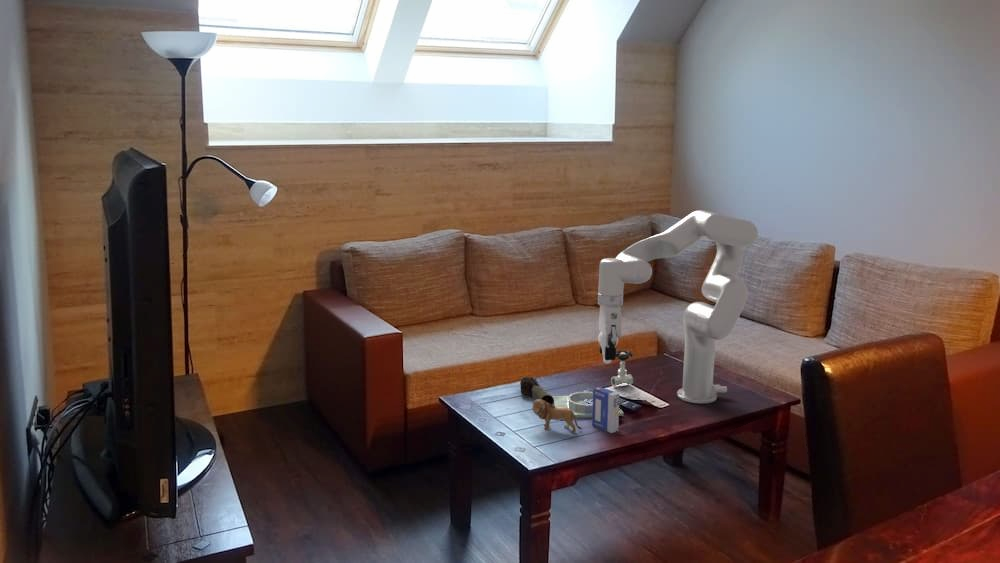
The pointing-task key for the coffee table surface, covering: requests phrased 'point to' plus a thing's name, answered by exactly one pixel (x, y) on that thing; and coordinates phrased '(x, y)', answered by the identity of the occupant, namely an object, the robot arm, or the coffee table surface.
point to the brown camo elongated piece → (534, 390)
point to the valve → (622, 369)
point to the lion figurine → (553, 414)
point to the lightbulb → (603, 344)
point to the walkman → (605, 409)
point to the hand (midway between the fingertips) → (607, 355)
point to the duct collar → (577, 404)
